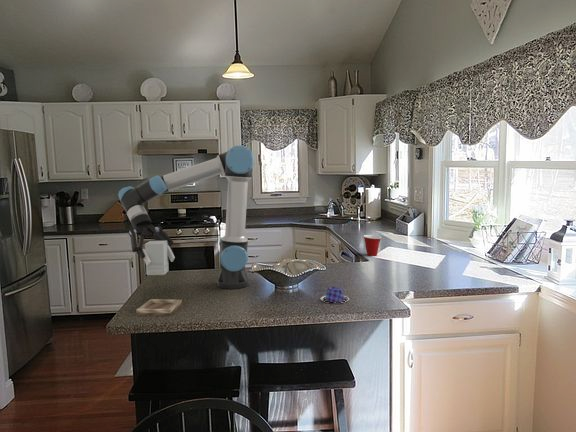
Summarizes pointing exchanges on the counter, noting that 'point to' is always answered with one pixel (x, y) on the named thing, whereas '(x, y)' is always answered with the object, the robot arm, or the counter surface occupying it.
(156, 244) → the supplement box
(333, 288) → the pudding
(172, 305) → the square wooden tray
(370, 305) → the counter surface
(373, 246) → the plastic cup
